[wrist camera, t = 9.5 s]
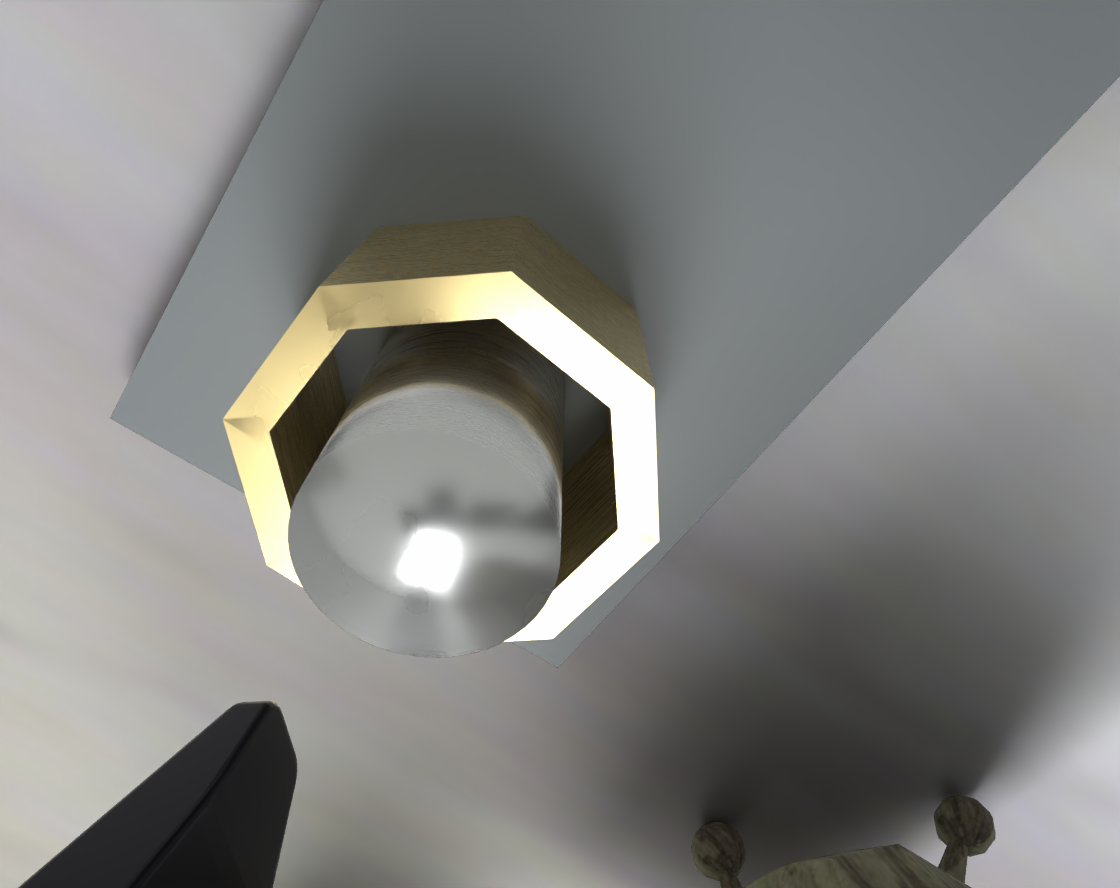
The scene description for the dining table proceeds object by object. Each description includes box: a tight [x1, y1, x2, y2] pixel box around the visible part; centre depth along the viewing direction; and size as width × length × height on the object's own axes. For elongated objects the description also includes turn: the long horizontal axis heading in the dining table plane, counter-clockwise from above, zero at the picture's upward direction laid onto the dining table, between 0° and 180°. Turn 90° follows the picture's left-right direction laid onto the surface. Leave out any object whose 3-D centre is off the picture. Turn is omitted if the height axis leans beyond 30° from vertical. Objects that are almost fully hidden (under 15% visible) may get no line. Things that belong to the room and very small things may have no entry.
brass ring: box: [223, 215, 659, 642], centre depth 15 cm, size 7×7×4 cm
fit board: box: [110, 0, 1120, 668], centre depth 12 cm, size 26×12×7 cm, turn 144°
